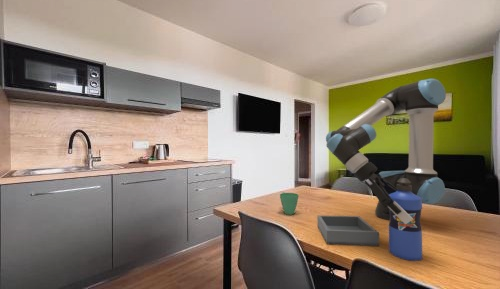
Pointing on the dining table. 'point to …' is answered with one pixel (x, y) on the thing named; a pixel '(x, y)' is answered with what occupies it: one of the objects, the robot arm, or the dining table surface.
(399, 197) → the blue plastic bottle
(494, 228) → the dining table surface
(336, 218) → the tray
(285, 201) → the mug
